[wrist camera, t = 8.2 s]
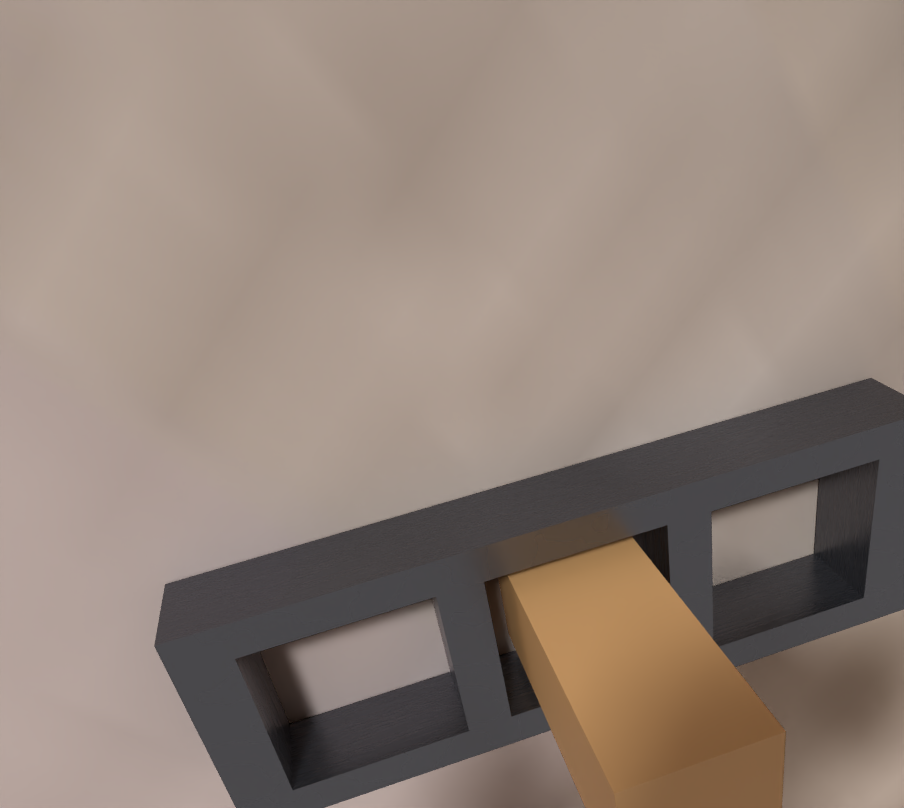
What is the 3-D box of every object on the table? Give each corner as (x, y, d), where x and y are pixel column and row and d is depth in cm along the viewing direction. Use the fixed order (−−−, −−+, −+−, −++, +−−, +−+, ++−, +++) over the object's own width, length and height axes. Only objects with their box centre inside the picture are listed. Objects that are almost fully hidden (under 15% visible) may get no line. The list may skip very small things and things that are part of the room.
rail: (871, 378, 24) (933, 410, 22) (852, 565, 28) (903, 609, 25) (165, 584, 21) (154, 646, 19) (249, 764, 25) (248, 833, 22)
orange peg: (608, 506, 24) (785, 731, 16) (616, 598, 25) (780, 842, 18) (491, 541, 23) (614, 793, 15) (508, 633, 25) (626, 900, 17)
